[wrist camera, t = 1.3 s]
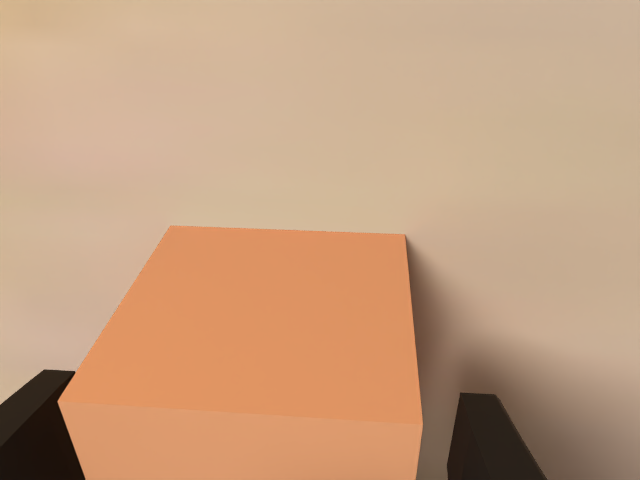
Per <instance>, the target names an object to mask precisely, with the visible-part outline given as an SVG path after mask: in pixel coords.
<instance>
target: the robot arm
mask: <svg viewBox="0 0 640 480" xmlns="http://www.w3.org/2000/svg"><path fill="white" fill-rule="evenodd" d="M74 375H75V371H61V370H43V371H42V372H41V373H39V374H38V375H37V376H35V377H34V378H33V379H32V380H30V381H29V382H28V383H26V384H25V385H24V386H23V387H22V388H20V389H19V390H18V391H17V392H15V393H14V394H13V395H12V396H10V397H9V398H8V399H7V400H6V401H4V402H3V403H2V404H1V405H0V480H86V479H85V476H84V473H83V470H82V468H81V465H80V462H79V459H78V457H77V454H76V451H75V448H74V446H73V443H72V440H71V437H70V435H69V432H68V429H67V426H66V424H65V421H64V418H63V415H62V413H61V410H60V407H59V404H58V402H57V401H58V400H59V398H60V396H61V395H62V393H63V392H64V390H65V389H66V387H67V386H68V384H69V382H70V381H71V379H72V378H73V376H74ZM447 471H448V480H547V478H546V477H545V475H544V474H543V472H542V471H541V469H540V467H539V466H538V464H537V463H536V461H535V459H534V458H533V456H532V454H531V453H530V451H529V450H528V448H527V446H526V445H525V443H524V441H523V440H522V438H521V436H520V435H519V433H518V431H517V429H516V428H515V426H514V424H513V422H512V421H511V419H510V417H509V415H508V414H507V412H506V410H505V408H504V406H503V404H502V403H501V401H500V399H499V398H498V397H497V396H496V395H494V394H476V393H460V398H459V403H458V408H457V414H456V419H455V425H454V430H453V436H452V441H451V446H450V452H449V457H448V463H447Z"/></svg>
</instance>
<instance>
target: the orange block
mask: <svg viewBox="0 0 640 480" xmlns="http://www.w3.org/2000/svg"><path fill="white" fill-rule="evenodd" d="M57 402H58V404H59V407H60V410H61V413H62V415H63V418H64V421H65V424H66V426H67V429H68V432H69V435H70V437H71V440H72V443H73V446H74V448H75V451H76V454H77V457H78V459H79V462H80V465H81V468H82V470H83V473H84V476H85V479H86V480H416V473H417V465H418V458H419V451H420V443H421V436H422V429H423V419H422V408H421V398H420V387H419V377H418V366H417V356H416V345H415V335H414V324H413V314H412V303H411V293H410V282H409V272H408V261H407V251H406V240H405V234H379V233H353V232H326V231H300V230H273V229H246V228H220V227H193V226H170V227H169V229H168V230H167V232H166V233H165V235H164V237H163V238H162V240H161V241H160V243H159V244H158V246H157V247H156V249H155V251H154V252H153V254H152V255H151V257H150V258H149V260H148V261H147V263H146V265H145V266H144V268H143V269H142V271H141V272H140V274H139V275H138V277H137V278H136V280H135V282H134V283H133V285H132V286H131V288H130V289H129V291H128V292H127V294H126V296H125V297H124V299H123V300H122V302H121V303H120V305H119V306H118V308H117V310H116V311H115V313H114V314H113V316H112V317H111V319H110V320H109V322H108V323H107V325H106V327H105V328H104V330H103V331H102V333H101V334H100V336H99V337H98V339H97V341H96V342H95V344H94V345H93V347H92V348H91V350H90V351H89V353H88V355H87V356H86V358H85V359H84V361H83V362H82V364H81V365H80V367H79V368H78V370H77V372H76V373H75V375H74V376H73V378H72V379H71V381H70V382H69V384H68V386H67V387H66V389H65V390H64V392H63V393H62V395H61V396H60V398H59V400H58V401H57Z"/></svg>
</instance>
